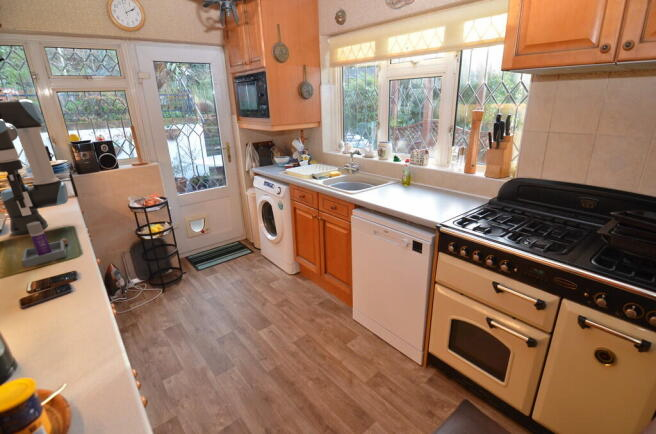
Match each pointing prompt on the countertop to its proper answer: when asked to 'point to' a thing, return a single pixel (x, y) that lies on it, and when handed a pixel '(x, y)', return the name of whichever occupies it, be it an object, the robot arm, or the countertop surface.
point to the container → (39, 238)
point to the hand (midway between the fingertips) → (27, 210)
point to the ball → (64, 240)
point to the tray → (33, 259)
